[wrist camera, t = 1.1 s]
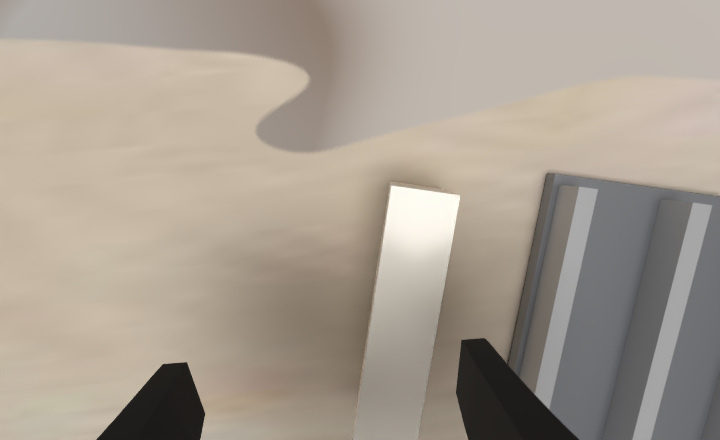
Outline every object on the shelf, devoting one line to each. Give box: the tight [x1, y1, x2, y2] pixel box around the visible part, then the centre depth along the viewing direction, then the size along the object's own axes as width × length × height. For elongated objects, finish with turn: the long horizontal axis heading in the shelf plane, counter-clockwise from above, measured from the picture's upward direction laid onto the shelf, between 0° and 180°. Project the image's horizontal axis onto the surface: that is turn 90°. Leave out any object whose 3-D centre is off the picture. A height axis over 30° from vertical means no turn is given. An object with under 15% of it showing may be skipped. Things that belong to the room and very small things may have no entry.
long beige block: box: [352, 181, 460, 440], centre depth 19 cm, size 12×3×6 cm, turn 172°
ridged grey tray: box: [508, 174, 720, 440], centre depth 19 cm, size 15×11×3 cm
